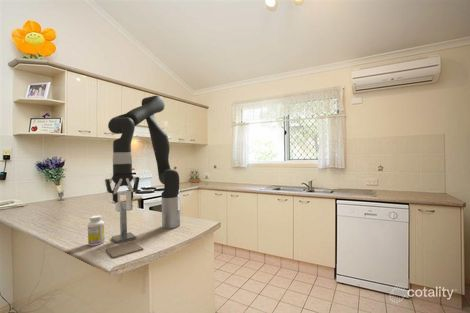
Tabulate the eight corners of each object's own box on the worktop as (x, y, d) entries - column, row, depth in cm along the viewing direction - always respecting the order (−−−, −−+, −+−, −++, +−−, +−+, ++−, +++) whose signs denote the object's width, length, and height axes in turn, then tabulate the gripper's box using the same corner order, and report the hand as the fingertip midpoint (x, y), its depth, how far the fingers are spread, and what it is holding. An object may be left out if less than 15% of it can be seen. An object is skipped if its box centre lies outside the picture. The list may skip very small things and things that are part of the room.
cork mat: (134, 242, 108) (134, 241, 108) (143, 249, 99) (143, 248, 99) (105, 249, 100) (105, 248, 100) (112, 258, 91) (112, 256, 91)
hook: (128, 208, 103) (128, 190, 103) (131, 209, 100) (130, 191, 100) (115, 210, 99) (115, 191, 99) (118, 212, 96) (117, 192, 96)
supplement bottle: (98, 240, 112) (97, 214, 112) (107, 241, 110) (107, 215, 110) (84, 245, 106) (84, 217, 106) (94, 247, 104) (93, 218, 104)
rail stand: (130, 234, 120) (129, 196, 120) (140, 242, 108) (139, 200, 108) (111, 238, 114) (110, 199, 114) (120, 247, 102) (119, 203, 102)
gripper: (136, 162, 107) (137, 198, 107) (101, 163, 98) (102, 202, 98) (142, 162, 102) (142, 200, 102) (106, 163, 92) (107, 205, 92)
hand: (123, 201), depth 100 cm, fingers closed on hook, 5 cm apart
